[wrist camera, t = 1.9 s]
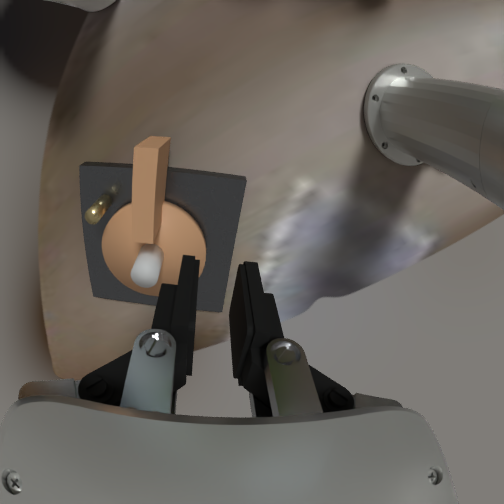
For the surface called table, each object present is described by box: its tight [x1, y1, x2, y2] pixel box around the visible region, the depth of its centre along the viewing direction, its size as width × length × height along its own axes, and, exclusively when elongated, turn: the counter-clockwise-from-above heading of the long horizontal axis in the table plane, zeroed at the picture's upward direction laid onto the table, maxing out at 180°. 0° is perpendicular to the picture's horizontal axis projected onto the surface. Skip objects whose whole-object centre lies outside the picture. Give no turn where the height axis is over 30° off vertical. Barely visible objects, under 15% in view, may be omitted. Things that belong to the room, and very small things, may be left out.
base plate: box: [80, 162, 247, 312], centre depth 29 cm, size 18×18×6 cm
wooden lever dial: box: [102, 136, 206, 296], centre depth 26 cm, size 12×18×6 cm, turn 169°
